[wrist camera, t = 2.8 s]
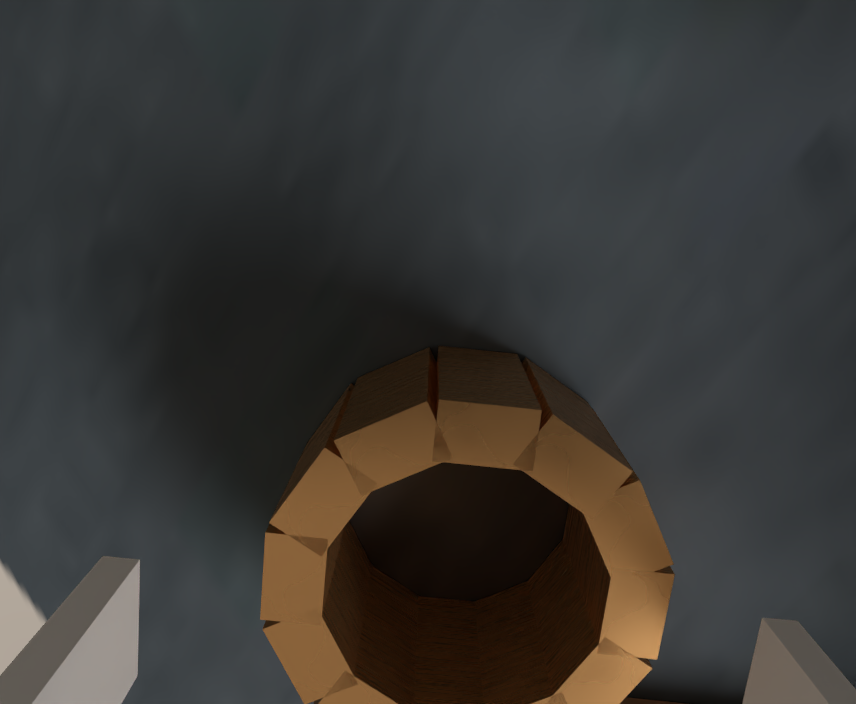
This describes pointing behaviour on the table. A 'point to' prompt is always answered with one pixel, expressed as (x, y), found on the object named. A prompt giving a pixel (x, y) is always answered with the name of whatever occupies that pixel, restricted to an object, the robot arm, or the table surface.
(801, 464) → the table surface
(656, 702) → the post block
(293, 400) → the table surface
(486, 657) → the orange ring
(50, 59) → the table surface
